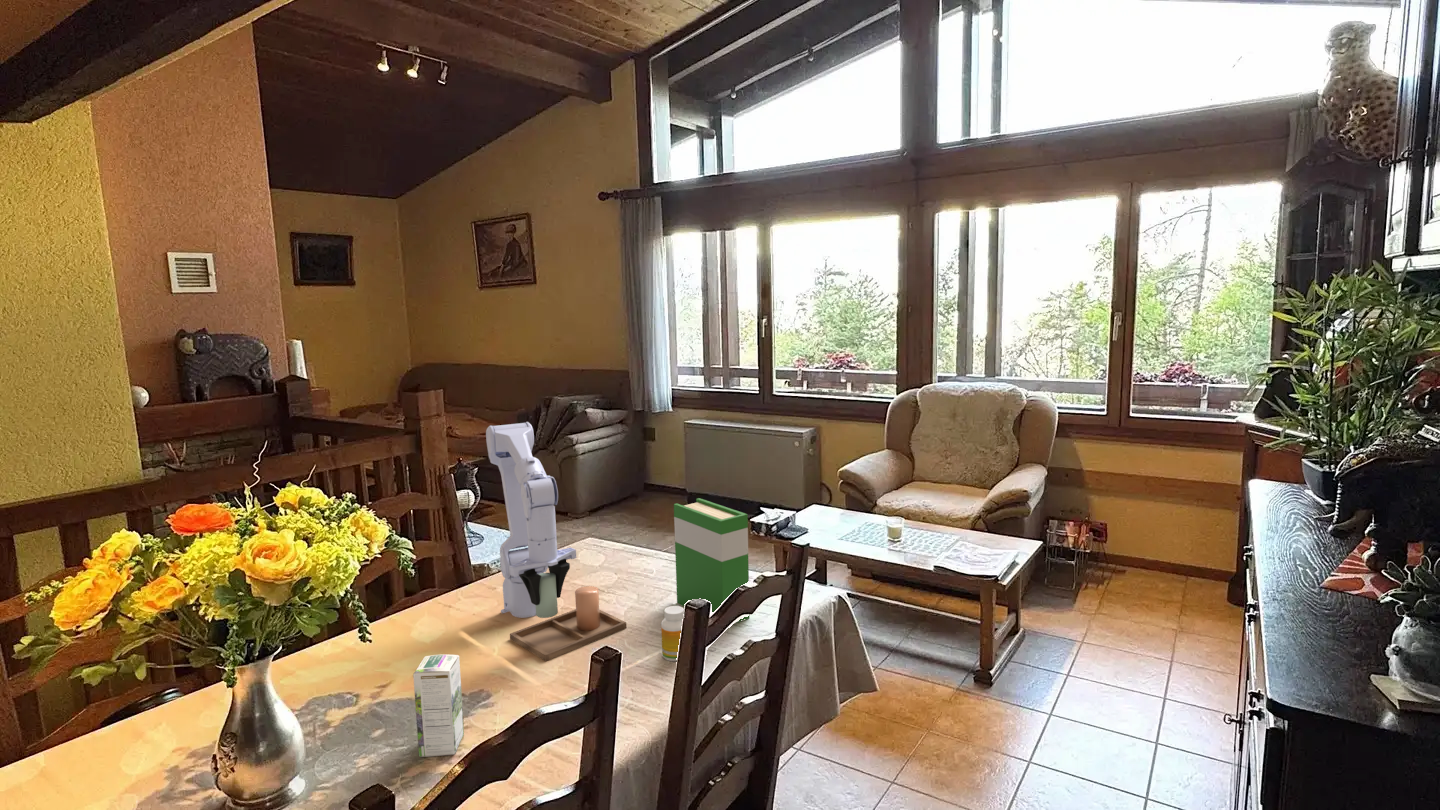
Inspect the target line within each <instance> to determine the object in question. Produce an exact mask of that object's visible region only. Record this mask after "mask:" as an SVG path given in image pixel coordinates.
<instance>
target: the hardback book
mask: <svg viewBox="0 0 1440 810" xmlns="http://www.w3.org/2000/svg"><path fill="white" fill-rule="evenodd" d="M695 500H696V502H694V503H693V502H692V503H689V504H685V505H683V504H679V503H674V504H673V522H674V523H673V524H674V550H675V554H674V555H675V580H676V582H675V583H676V603H677V604H678V605H680V606H681V607H682V606H683V607H684V604H685V603H686V602H687V601H688V600H692V599H699V598H701V599H706V600H708V601H710V602H711V604H712V612H714V611H715V610H716V609H717V608H718V607H719V606H720V605H721V603H722V602H723V601H724V600H725V599H726V598H727V597H728V596H729V595H730V594H731V593H732V592H733V591H734V590H735V589H736V588H738V587H740V586H741V585H743V584H745V583H747V582H748V581H749V582H750V579H749V578H750V577H749V576H750V575H749V572H750V571H749V570H750V569H749V528H748V527H749V523H748V521H749V520H748V519H749V517H748V514H747V513H745V512H742V511H739V510H736V509H733V508H730V507H726V506H724V505H721V504H718V503H715V502H712V501H709V500H707V499H703V498H699V497H698V498H696V499H695ZM744 619H746V620H749V619H750V615H749V616H748V617H744V618H743V619H740V620H739V621H741V620H744ZM744 621H745V620H744ZM741 622H742V621H741Z"/></svg>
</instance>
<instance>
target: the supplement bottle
mask: <svg viewBox="0 0 1440 810" xmlns="http://www.w3.org/2000/svg"><path fill="white" fill-rule="evenodd" d="M684 608H685V607H682V606H681V605H680V606H679V605H669V606H667V607H665V608H664V610H663V616H664V618H663V619H662V620H661V624H660V626H661V627H660V628H661V655H662V658H663V659H665V660H667V662H668V661H669V662H677V661H676V658H677V652H678V645H679V639H680V633H681V626H682V619H683V614H684V615H685V609H684Z"/></svg>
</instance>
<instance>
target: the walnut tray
mask: <svg viewBox="0 0 1440 810" xmlns="http://www.w3.org/2000/svg"><path fill="white" fill-rule="evenodd" d="M599 611H600V626H599V627H598V628H597V629H594V630H590V631H582V630H579V629H578V628H577V619H576V608H575V609H572V610H570V611H567V612H565V613H561V614H559V615H555V616H553V617H550V618H549V619H548V618H547V619H546V620H543V621H540V622H538V623H535V624H533V625H530V626H527V627H524V628H522V629H521V628H520V629H519V630H516V631H513V632H511V633H509V640H511V641H512V642H514V643H515V644H517V645H519V646H520V647H522V648H524V649H525V650H527V651H529V653H531V654H534V656H536V657H538V658H539V659H541V660H543V661H545V662H547V661H548V662H549V661H550V660H552V659H555V658H557V657H560V656H562V655H564V654H567V653H569V652H572V651H574V650H577V649H579V648H582V647H584V646H587V645H589V644H591V643H594V642H596V641H598V640H601V639H603V638H605V637H609V636H610V635H613V634H615V633H619V632H620V631H623V630H625V629H627V622H626V621H624V620H622V619H620V618H618V617H616V616H614V615H611V614H610V613H608V612H607V611H606V612H605V611H604V610H601V609H599Z"/></svg>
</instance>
